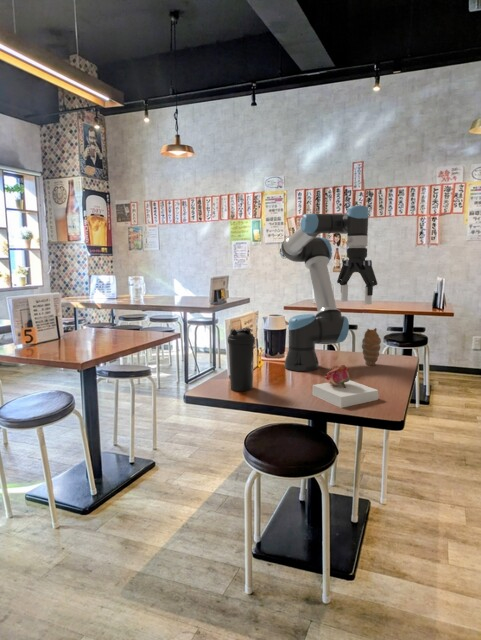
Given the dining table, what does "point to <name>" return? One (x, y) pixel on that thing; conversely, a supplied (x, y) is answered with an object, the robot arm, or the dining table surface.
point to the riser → (345, 393)
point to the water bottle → (241, 359)
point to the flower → (338, 375)
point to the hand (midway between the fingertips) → (355, 302)
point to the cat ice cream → (371, 347)
